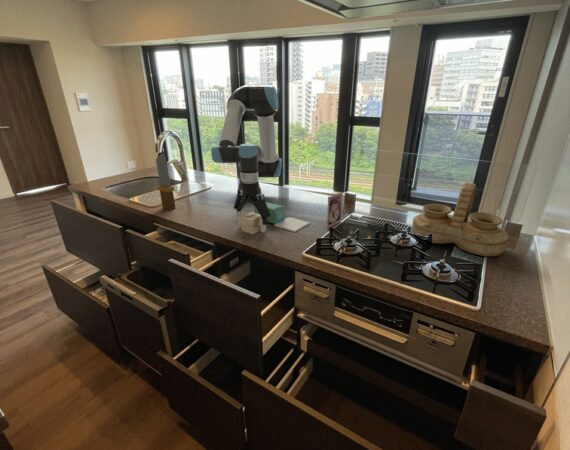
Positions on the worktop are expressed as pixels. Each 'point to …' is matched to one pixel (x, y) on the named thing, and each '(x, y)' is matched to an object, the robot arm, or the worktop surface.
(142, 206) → the worktop surface
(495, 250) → the ceramic vessel
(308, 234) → the worktop surface
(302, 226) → the tile
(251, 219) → the letter cube
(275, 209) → the box
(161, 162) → the knife
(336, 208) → the greeting card
